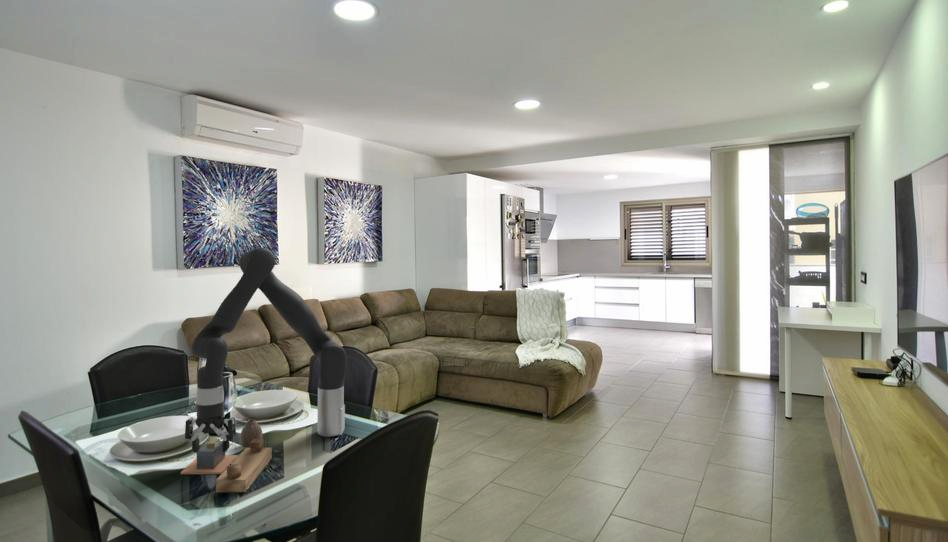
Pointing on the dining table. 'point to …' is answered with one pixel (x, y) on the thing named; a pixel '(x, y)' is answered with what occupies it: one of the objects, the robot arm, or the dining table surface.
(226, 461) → the mat
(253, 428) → the brown oval piece
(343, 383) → the robot arm
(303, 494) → the dining table surface
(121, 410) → the dining table surface
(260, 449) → the plane body
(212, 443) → the grey block
